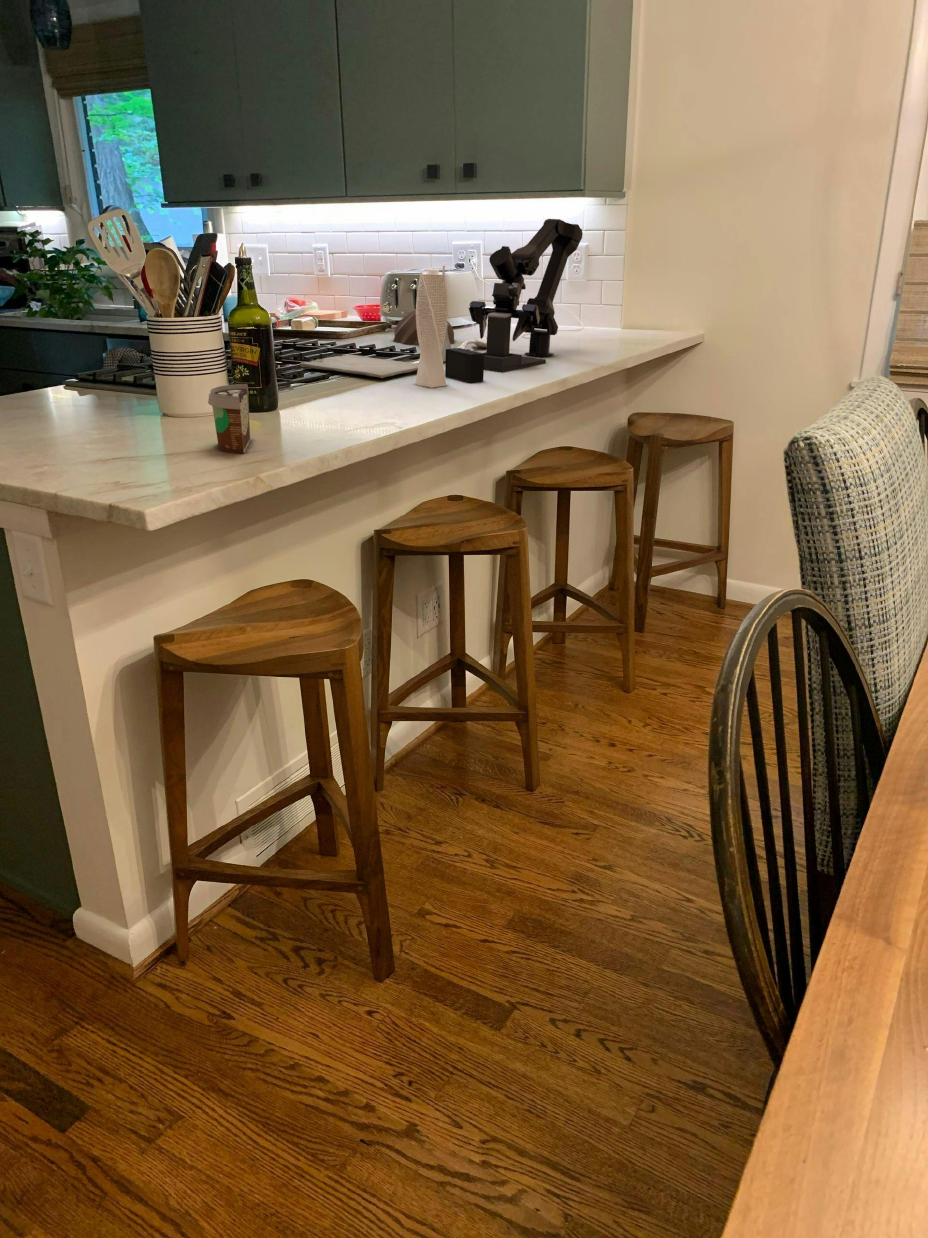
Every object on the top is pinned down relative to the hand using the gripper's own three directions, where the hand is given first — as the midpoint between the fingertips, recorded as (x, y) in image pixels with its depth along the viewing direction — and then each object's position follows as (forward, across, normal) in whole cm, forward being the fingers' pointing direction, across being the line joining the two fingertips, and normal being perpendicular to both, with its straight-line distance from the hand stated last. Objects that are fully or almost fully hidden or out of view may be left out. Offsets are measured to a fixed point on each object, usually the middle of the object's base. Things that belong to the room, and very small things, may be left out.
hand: (497, 338), depth 248 cm
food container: (+79, -19, -68) cm, 106 cm away
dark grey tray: (0, -1, +11) cm, 11 cm away
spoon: (-13, -15, +24) cm, 31 cm away
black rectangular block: (+19, -2, -8) cm, 21 cm away
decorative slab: (+19, -30, -8) cm, 36 cm away
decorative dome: (-22, -35, +33) cm, 53 cm away
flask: (+1, -17, +10) cm, 20 cm away
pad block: (+4, 0, +6) cm, 7 cm away
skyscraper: (+28, -7, -16) cm, 33 cm away
